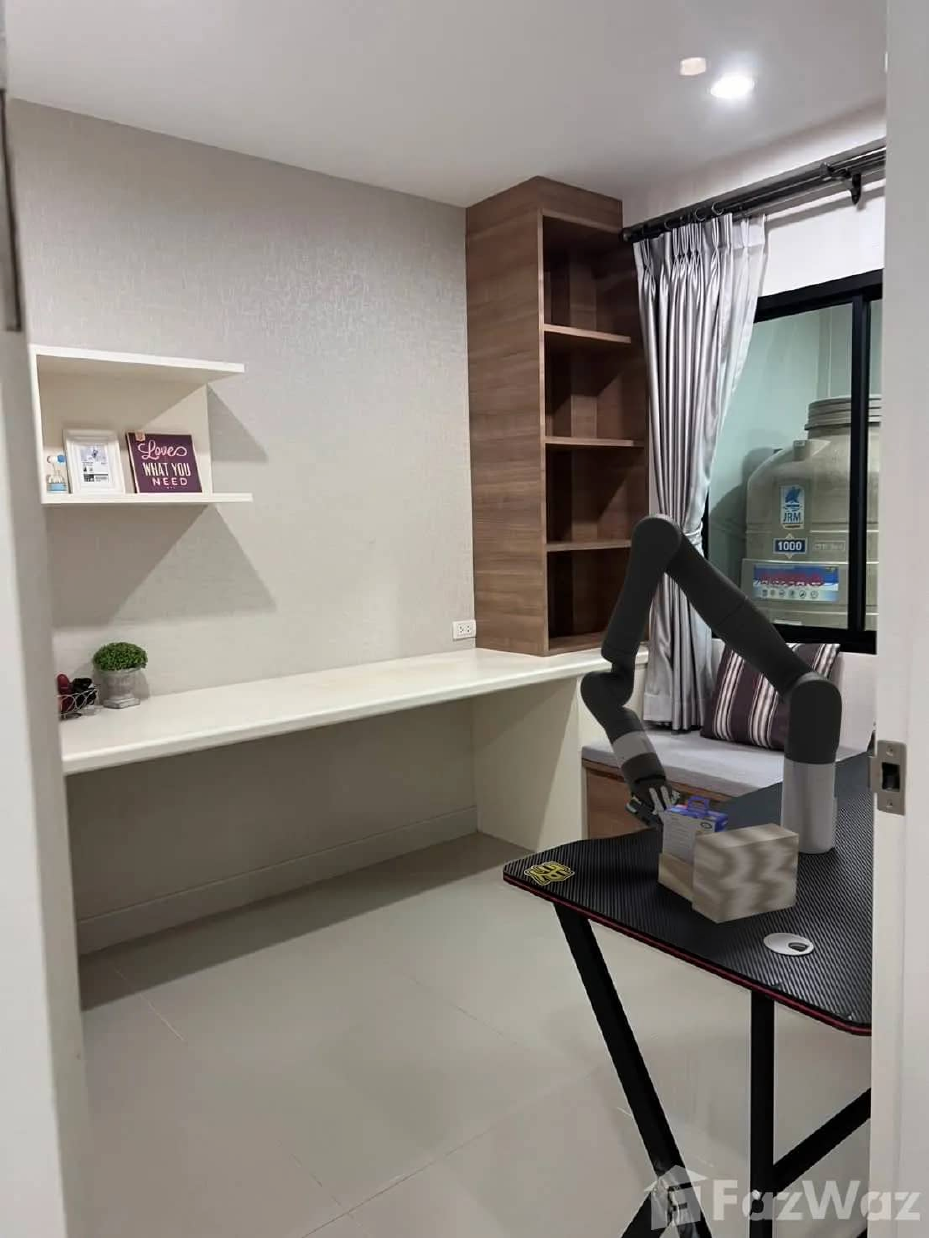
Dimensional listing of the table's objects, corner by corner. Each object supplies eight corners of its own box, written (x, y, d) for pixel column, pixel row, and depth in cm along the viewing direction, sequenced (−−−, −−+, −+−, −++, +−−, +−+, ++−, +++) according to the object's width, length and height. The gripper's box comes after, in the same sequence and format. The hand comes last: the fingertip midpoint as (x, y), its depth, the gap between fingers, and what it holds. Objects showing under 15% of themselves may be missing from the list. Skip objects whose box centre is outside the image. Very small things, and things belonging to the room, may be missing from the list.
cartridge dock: (724, 868, 166) (727, 803, 164) (795, 905, 150) (798, 834, 149) (651, 883, 159) (653, 815, 157) (717, 923, 144) (720, 848, 142)
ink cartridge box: (727, 882, 159) (730, 801, 158) (713, 892, 155) (716, 809, 153) (675, 868, 166) (678, 789, 164) (660, 877, 161) (662, 796, 160)
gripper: (616, 754, 169) (654, 841, 160) (675, 747, 175) (715, 830, 165) (600, 774, 175) (635, 859, 165) (657, 767, 180) (695, 849, 171)
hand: (675, 845), depth 165 cm, fingers closed
